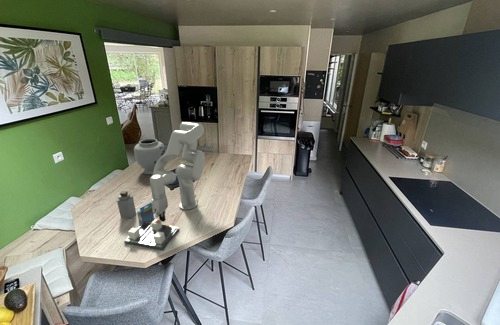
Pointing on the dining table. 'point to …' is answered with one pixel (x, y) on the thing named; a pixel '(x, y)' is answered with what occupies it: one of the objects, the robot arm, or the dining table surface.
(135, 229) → the block
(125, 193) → the perfume bottle
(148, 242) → the panel
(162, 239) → the breaker high
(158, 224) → the block
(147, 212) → the label tape box
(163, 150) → the ceramic vase
